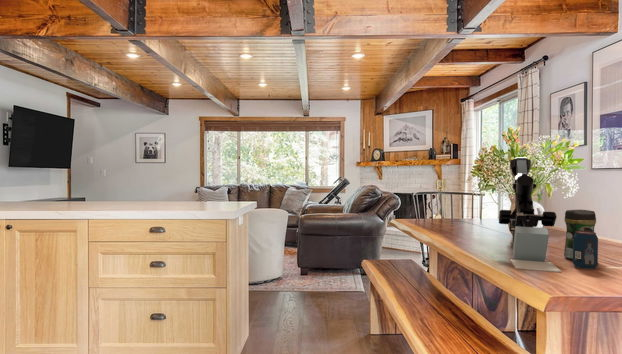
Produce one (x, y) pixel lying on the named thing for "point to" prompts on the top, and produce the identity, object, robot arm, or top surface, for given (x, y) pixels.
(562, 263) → the top surface
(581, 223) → the coffee jar
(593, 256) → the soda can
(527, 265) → the beige square plate
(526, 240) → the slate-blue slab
